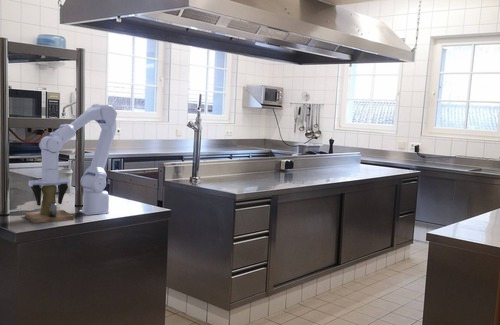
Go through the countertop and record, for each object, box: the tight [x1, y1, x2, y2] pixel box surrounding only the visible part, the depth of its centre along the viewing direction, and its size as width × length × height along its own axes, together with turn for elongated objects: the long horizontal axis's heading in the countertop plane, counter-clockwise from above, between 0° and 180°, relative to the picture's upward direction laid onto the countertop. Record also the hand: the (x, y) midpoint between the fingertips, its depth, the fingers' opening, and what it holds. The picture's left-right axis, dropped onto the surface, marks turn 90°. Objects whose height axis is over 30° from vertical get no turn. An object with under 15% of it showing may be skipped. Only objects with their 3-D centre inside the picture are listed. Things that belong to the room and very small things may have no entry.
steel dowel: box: [49, 202, 58, 217], centre depth 180 cm, size 2×2×5 cm
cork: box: [39, 185, 57, 215], centre depth 185 cm, size 6×6×11 cm
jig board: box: [24, 209, 74, 224], centre depth 184 cm, size 14×12×2 cm
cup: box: [58, 168, 74, 195], centre depth 236 cm, size 7×7×12 cm
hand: (49, 204), depth 184 cm, fingers open, 7 cm apart
